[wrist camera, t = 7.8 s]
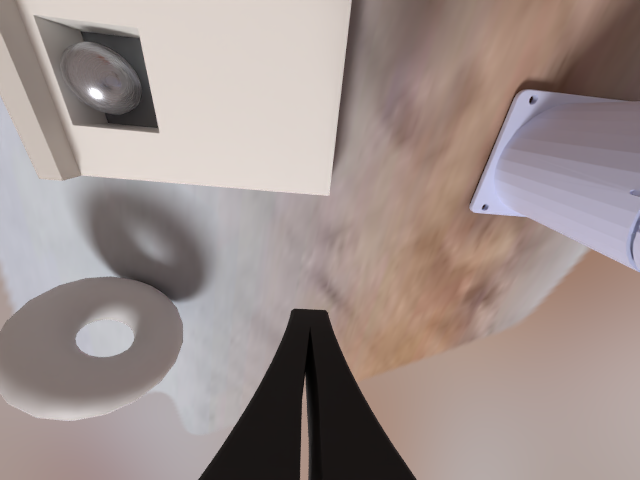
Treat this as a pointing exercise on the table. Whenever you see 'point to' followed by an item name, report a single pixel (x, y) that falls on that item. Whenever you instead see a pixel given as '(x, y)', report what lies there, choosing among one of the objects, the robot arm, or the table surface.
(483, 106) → the table surface
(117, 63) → the ball
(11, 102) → the board
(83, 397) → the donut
